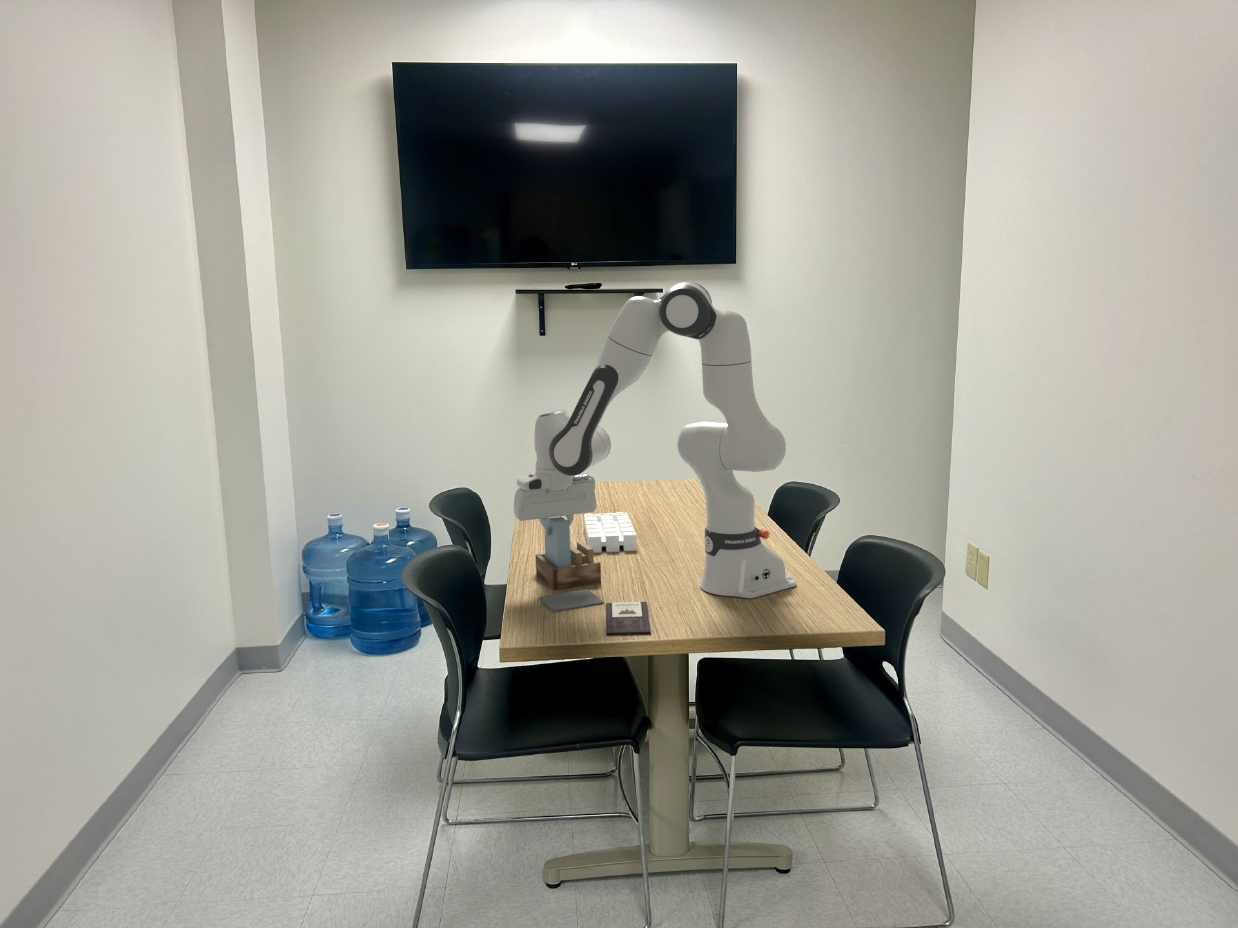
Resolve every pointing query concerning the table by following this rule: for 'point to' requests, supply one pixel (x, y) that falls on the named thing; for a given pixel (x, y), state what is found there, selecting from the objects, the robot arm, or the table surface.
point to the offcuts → (581, 554)
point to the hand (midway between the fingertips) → (556, 533)
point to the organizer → (610, 532)
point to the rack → (567, 574)
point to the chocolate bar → (627, 618)
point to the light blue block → (558, 542)
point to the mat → (570, 600)
